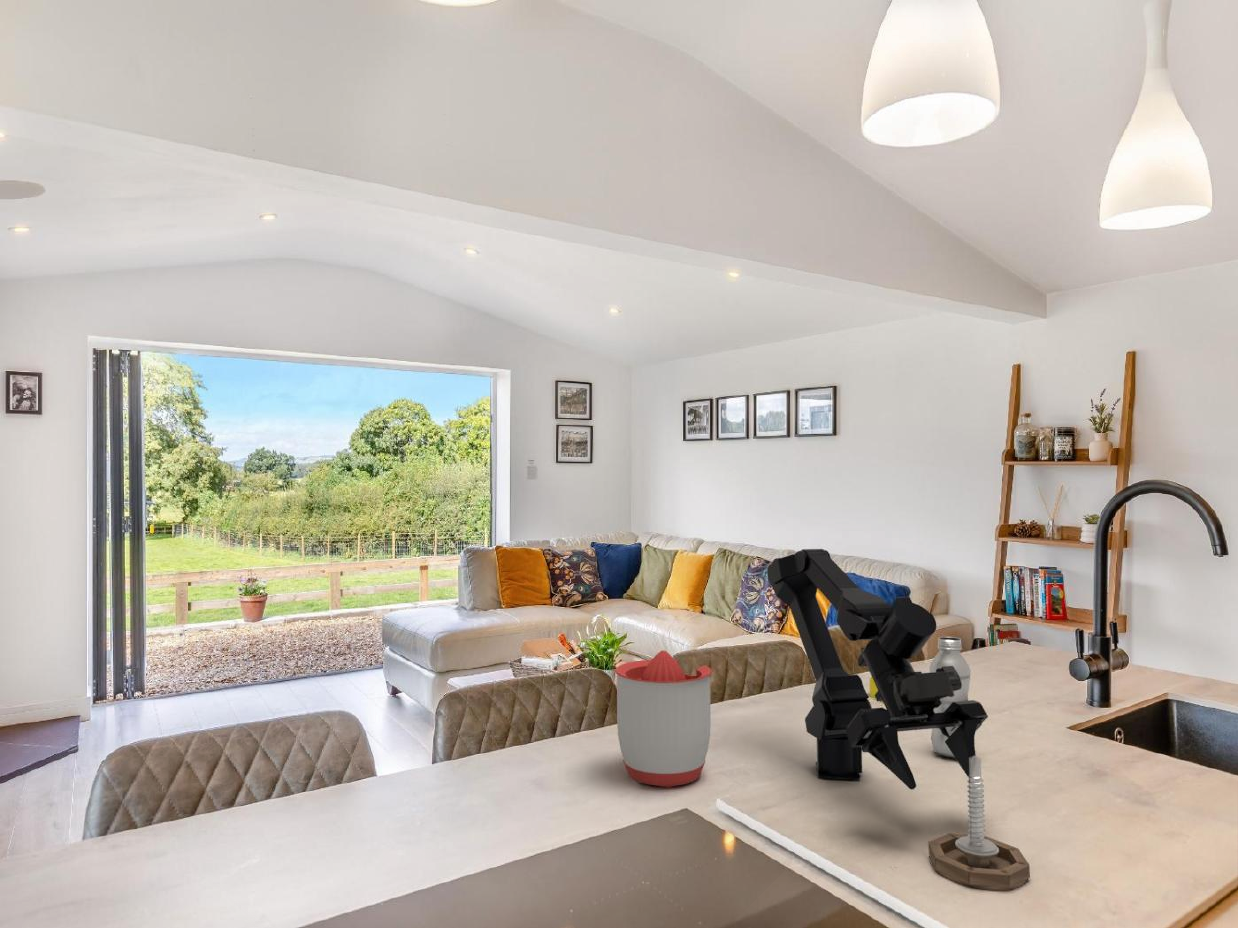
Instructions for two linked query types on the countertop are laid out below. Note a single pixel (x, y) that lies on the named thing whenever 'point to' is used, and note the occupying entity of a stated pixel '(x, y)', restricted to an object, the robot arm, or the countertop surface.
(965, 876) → the brown wooden tray
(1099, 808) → the countertop surface
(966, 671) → the plastic bottle
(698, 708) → the citrus juicer
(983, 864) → the screw
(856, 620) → the robot arm
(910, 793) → the countertop surface
